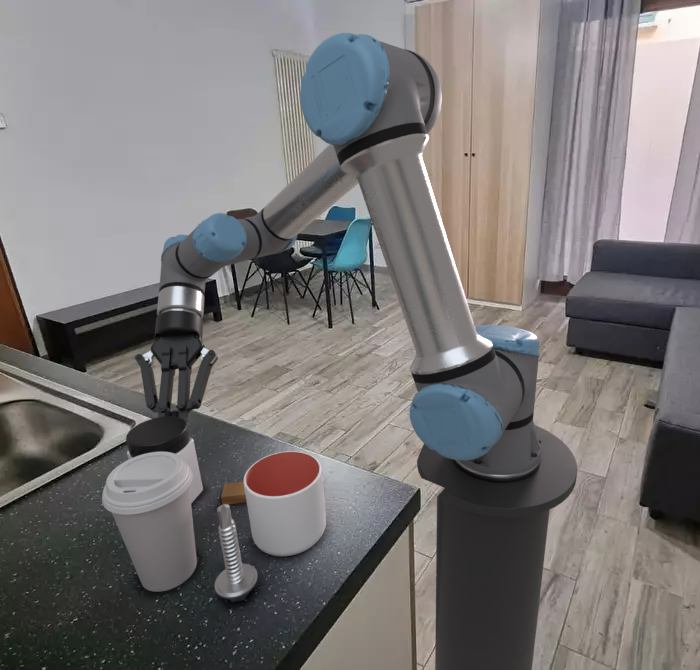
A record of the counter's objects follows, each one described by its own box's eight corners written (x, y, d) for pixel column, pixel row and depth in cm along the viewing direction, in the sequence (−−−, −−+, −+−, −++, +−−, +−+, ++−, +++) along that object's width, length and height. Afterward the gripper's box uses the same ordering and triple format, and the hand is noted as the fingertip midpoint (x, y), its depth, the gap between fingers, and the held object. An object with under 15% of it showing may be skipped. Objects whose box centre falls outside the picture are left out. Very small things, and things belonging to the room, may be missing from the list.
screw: (267, 581, 59) (245, 615, 55) (232, 572, 61) (208, 605, 56) (254, 494, 55) (229, 523, 50) (217, 487, 56) (189, 515, 52)
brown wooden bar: (312, 481, 77) (312, 473, 77) (312, 494, 74) (312, 485, 74) (225, 491, 75) (224, 483, 75) (222, 505, 72) (220, 497, 72)
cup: (292, 499, 73) (285, 442, 70) (341, 526, 68) (337, 466, 64) (237, 540, 66) (226, 479, 62) (288, 573, 60) (279, 509, 57)
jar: (136, 523, 69) (117, 451, 65) (143, 488, 76) (126, 422, 72) (203, 507, 72) (189, 438, 68) (203, 475, 79) (191, 411, 75)
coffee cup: (108, 588, 59) (77, 487, 53) (169, 534, 67) (148, 441, 62) (168, 613, 55) (141, 507, 50) (225, 553, 64) (207, 456, 58)
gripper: (224, 325, 89) (220, 453, 80) (147, 328, 87) (134, 461, 78) (215, 306, 83) (209, 445, 73) (131, 310, 81) (114, 453, 71)
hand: (170, 453), depth 76 cm, fingers closed
